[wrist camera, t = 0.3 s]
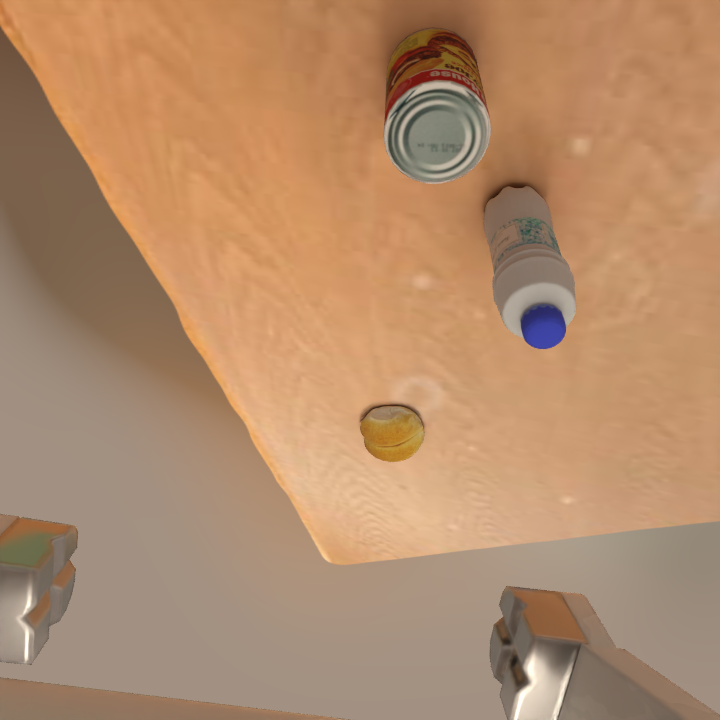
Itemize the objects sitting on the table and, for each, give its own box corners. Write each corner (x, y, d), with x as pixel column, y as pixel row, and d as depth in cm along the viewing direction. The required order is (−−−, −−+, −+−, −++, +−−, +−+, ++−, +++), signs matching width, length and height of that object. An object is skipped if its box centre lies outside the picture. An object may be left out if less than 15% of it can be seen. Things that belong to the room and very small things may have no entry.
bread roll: (369, 450, 92) (368, 473, 90) (356, 407, 87) (355, 430, 84) (428, 445, 91) (429, 468, 88) (419, 400, 85) (420, 424, 82)
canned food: (494, 85, 58) (510, 146, 49) (419, 137, 61) (422, 202, 53) (445, 7, 54) (453, 57, 45) (368, 66, 57) (362, 124, 49)
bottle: (499, 167, 63) (529, 293, 48) (561, 190, 64) (608, 321, 50) (467, 224, 67) (486, 356, 53) (526, 245, 69) (560, 380, 54)
